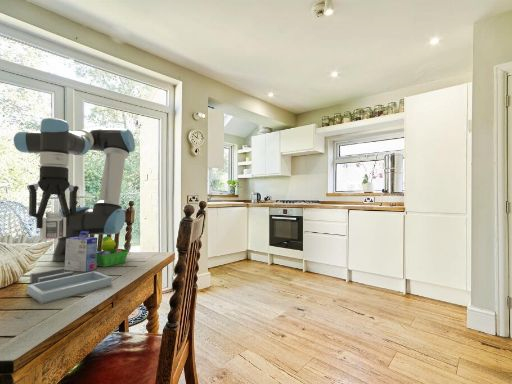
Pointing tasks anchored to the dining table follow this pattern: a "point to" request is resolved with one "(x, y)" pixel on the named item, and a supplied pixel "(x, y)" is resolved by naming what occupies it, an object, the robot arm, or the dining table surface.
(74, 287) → the parts tray
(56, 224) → the pill bottle
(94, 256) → the ink cartridge box
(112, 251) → the fruit basket
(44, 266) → the dining table surface
